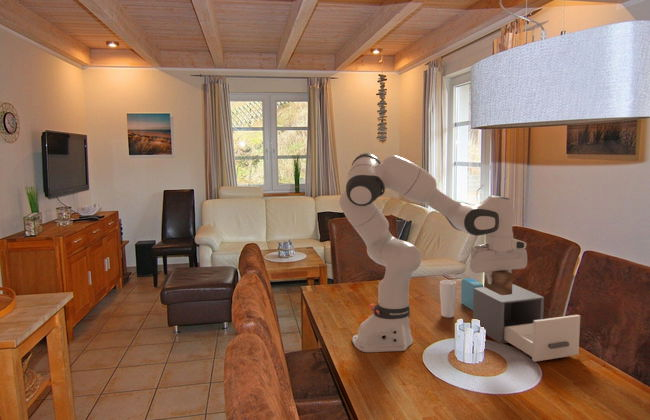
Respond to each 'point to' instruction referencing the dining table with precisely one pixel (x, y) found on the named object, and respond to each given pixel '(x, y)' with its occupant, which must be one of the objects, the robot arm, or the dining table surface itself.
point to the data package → (469, 291)
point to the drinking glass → (447, 297)
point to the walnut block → (500, 282)
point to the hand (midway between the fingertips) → (497, 282)
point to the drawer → (546, 337)
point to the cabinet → (506, 309)
